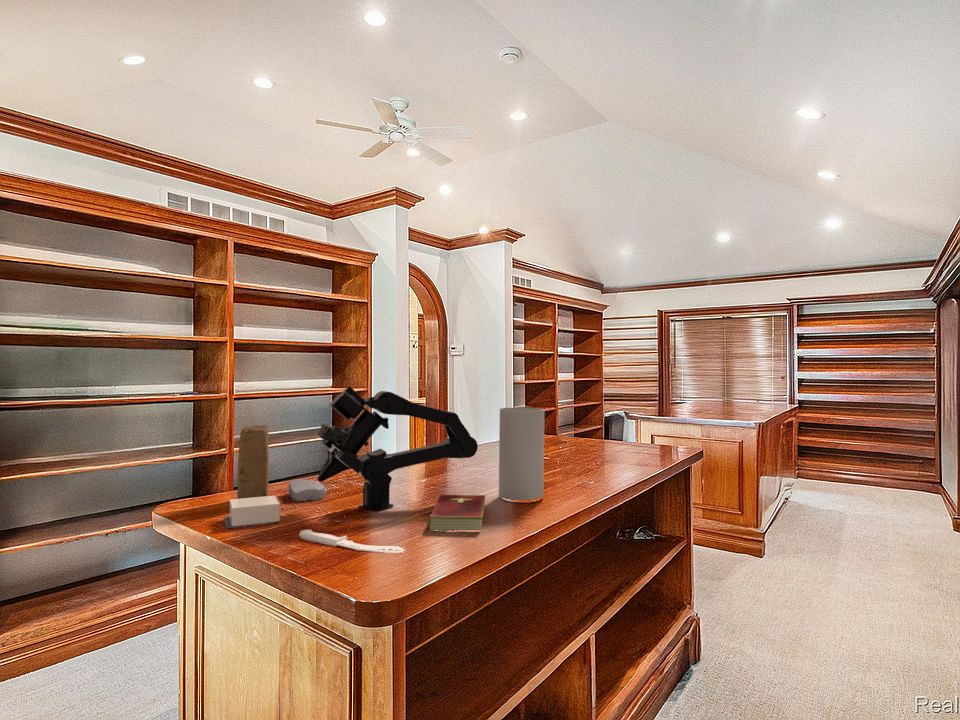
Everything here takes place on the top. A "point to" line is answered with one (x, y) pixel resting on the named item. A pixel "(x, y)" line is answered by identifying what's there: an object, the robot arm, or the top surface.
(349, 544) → the knife
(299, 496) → the stone block
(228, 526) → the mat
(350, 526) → the top surface
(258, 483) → the block
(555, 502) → the top surface
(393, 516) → the top surface
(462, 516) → the hardcover book
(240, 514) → the off-white thick block
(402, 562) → the top surface
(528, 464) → the cylinder vase
